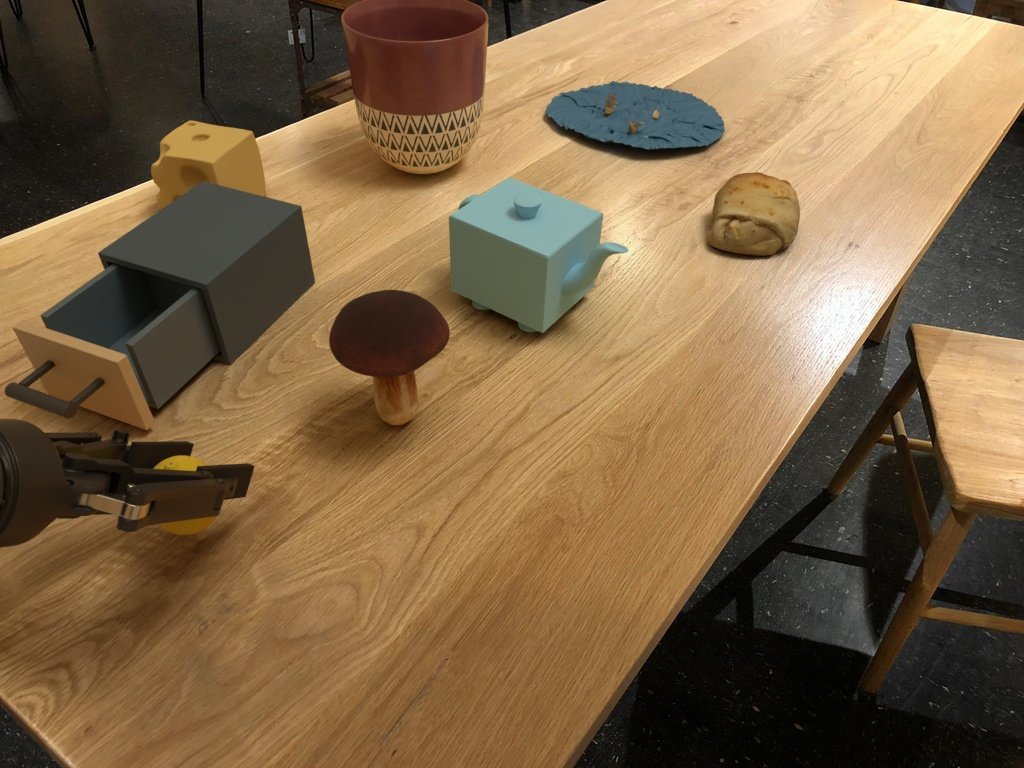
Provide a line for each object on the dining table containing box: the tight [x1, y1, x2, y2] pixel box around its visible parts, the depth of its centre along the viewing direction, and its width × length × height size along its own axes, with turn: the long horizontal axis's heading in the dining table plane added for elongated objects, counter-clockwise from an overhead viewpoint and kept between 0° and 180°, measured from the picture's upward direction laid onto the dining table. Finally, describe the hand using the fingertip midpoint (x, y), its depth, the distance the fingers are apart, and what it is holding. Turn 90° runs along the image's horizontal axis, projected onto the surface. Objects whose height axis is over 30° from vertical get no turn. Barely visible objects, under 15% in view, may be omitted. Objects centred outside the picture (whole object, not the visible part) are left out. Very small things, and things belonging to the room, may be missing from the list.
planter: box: [340, 0, 489, 175], centre depth 109 cm, size 20×20×21 cm
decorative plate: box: [544, 80, 726, 151], centre depth 128 cm, size 30×30×5 cm
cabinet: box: [97, 181, 316, 366], centre depth 86 cm, size 17×14×11 cm
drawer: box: [4, 263, 221, 431], centre depth 76 cm, size 20×12×9 cm, turn 158°
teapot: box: [448, 176, 629, 334], centre depth 87 cm, size 22×11×14 cm, turn 54°
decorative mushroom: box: [328, 289, 450, 426], centre depth 72 cm, size 11×11×15 cm
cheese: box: [150, 119, 267, 211], centre depth 102 cm, size 10×11×10 cm
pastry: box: [706, 171, 801, 257], centre depth 102 cm, size 14×12×8 cm
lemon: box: [153, 455, 218, 536], centre depth 61 cm, size 6×6×8 cm
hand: (215, 468), depth 64 cm, fingers closed on lemon, 5 cm apart
